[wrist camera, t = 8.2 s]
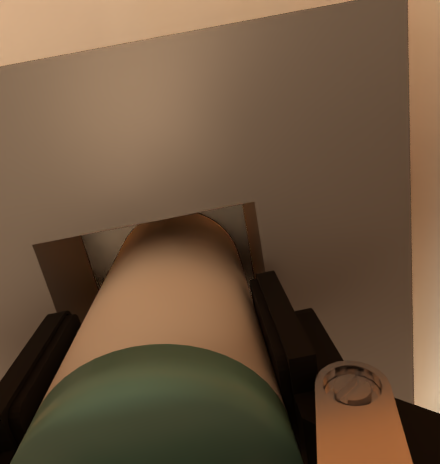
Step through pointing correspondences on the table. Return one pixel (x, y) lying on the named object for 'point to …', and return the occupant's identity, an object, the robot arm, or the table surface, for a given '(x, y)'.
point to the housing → (223, 166)
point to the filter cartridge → (166, 363)
